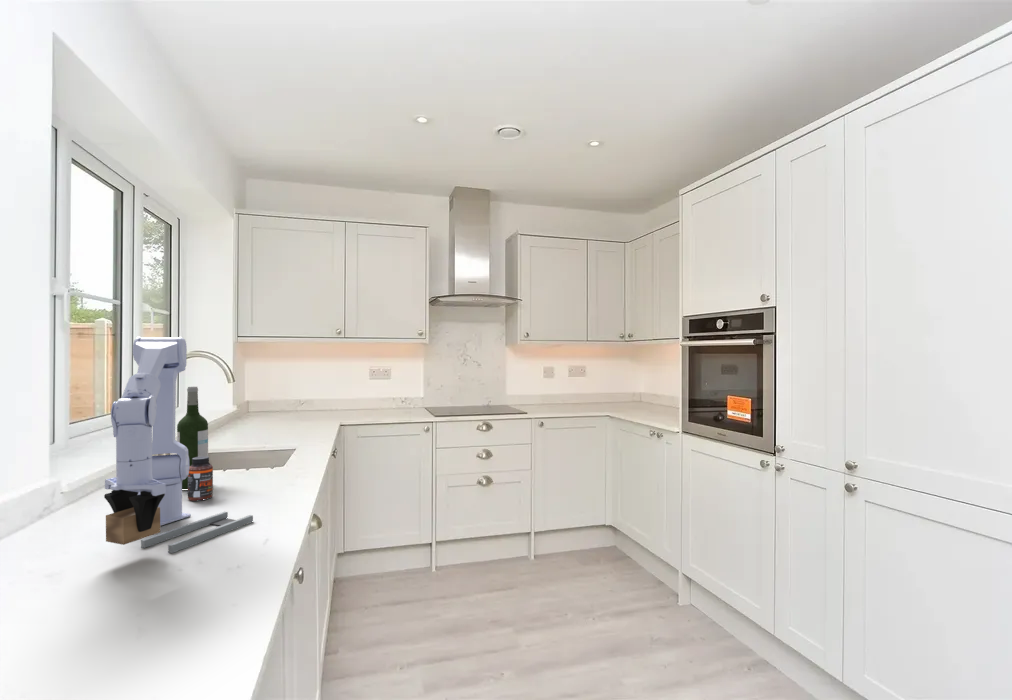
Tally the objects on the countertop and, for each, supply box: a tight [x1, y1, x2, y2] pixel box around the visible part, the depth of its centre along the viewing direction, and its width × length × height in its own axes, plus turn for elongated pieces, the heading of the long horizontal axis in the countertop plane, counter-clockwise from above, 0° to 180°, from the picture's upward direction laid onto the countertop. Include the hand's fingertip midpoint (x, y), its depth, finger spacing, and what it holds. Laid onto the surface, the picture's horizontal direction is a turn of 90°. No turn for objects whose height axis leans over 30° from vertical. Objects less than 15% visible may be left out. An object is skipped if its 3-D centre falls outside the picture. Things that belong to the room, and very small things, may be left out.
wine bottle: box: [176, 386, 209, 489], centre depth 153 cm, size 8×8×30 cm
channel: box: [140, 511, 254, 554], centre depth 114 cm, size 9×20×2 cm, turn 160°
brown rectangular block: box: [105, 507, 161, 546], centre depth 100 cm, size 5×7×5 cm
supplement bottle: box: [187, 456, 214, 502], centre depth 141 cm, size 6×6×11 cm
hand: (134, 528), depth 100 cm, fingers closed on brown rectangular block, 5 cm apart
